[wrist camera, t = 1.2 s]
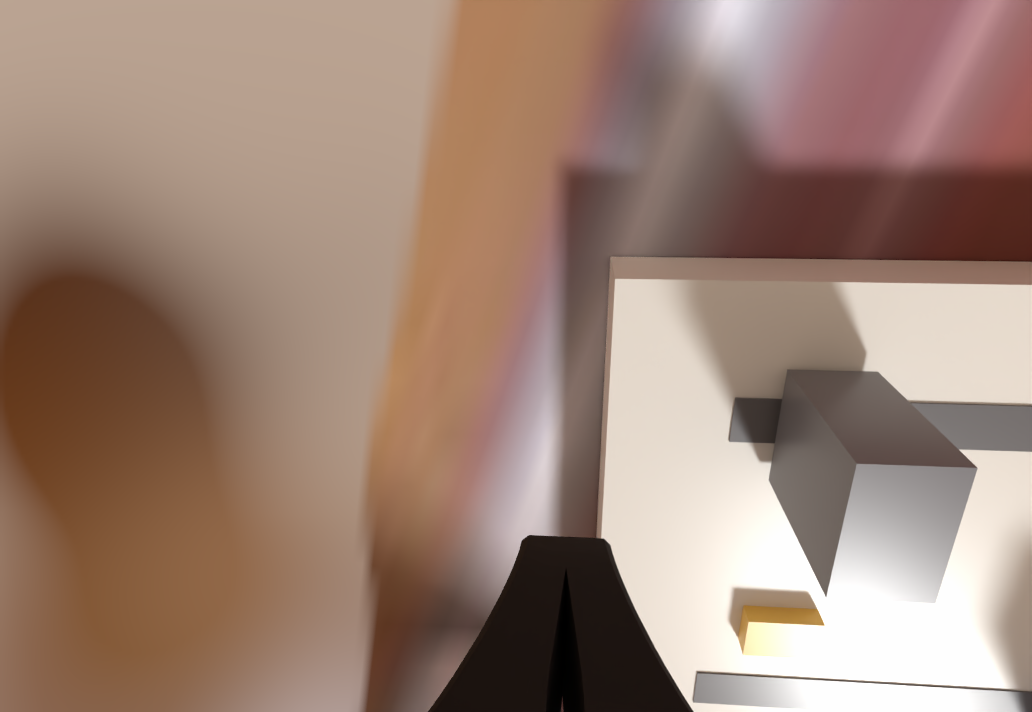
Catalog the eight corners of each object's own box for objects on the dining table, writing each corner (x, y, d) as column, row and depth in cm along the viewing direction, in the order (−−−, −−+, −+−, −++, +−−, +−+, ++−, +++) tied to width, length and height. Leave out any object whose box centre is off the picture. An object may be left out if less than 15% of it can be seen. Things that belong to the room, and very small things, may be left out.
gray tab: (852, 482, 16) (935, 602, 12) (768, 480, 16) (826, 598, 13) (878, 371, 15) (977, 468, 11) (787, 369, 15) (856, 463, 11)
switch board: (1249, 724, 21) (1335, 807, 19) (589, 683, 23) (591, 756, 20) (1528, 267, 15) (1709, 303, 13) (610, 256, 17) (617, 286, 14)
